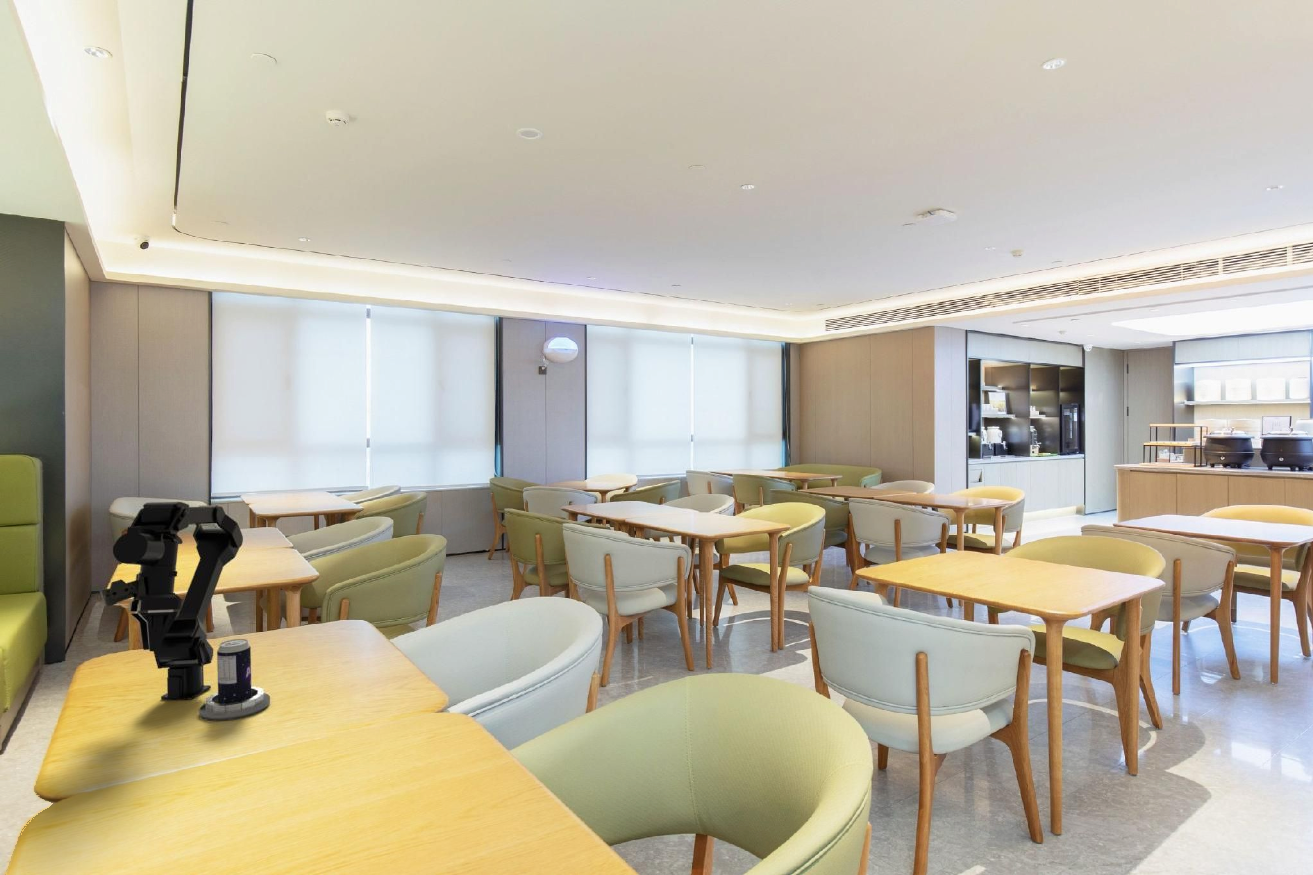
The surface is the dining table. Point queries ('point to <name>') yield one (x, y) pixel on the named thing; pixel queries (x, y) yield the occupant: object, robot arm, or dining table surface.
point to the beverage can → (234, 671)
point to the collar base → (236, 714)
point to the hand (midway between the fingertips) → (149, 650)
